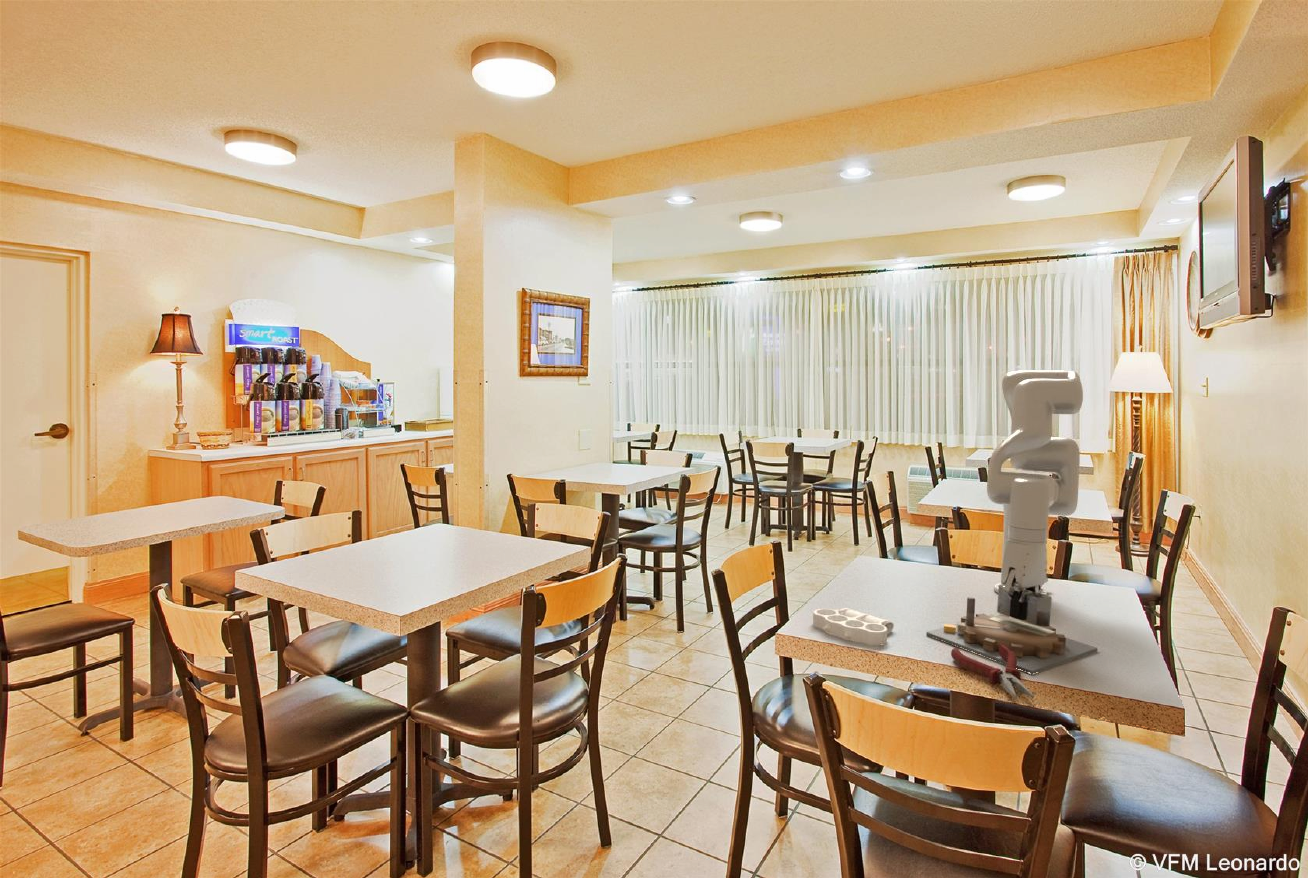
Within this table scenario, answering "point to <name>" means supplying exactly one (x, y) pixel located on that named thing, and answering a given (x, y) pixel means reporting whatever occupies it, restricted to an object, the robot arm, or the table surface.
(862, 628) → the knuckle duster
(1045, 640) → the sprocket wheel
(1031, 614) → the chain link
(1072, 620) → the table surface
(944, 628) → the index base plate
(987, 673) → the pliers
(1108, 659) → the table surface
